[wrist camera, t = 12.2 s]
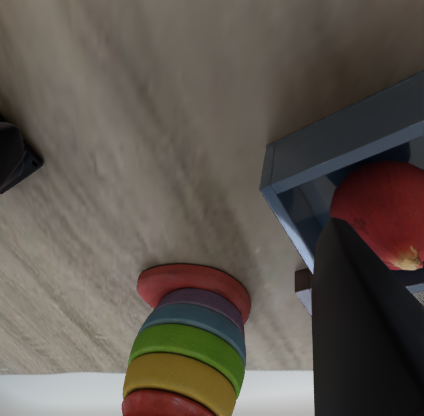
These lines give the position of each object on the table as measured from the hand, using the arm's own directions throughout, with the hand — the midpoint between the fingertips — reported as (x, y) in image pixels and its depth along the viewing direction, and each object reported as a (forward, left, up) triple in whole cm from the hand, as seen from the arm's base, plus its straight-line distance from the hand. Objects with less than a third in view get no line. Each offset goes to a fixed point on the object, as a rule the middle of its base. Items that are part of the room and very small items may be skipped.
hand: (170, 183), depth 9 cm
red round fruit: (+4, -10, -13) cm, 17 cm away
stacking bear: (-14, -17, -13) cm, 25 cm away
